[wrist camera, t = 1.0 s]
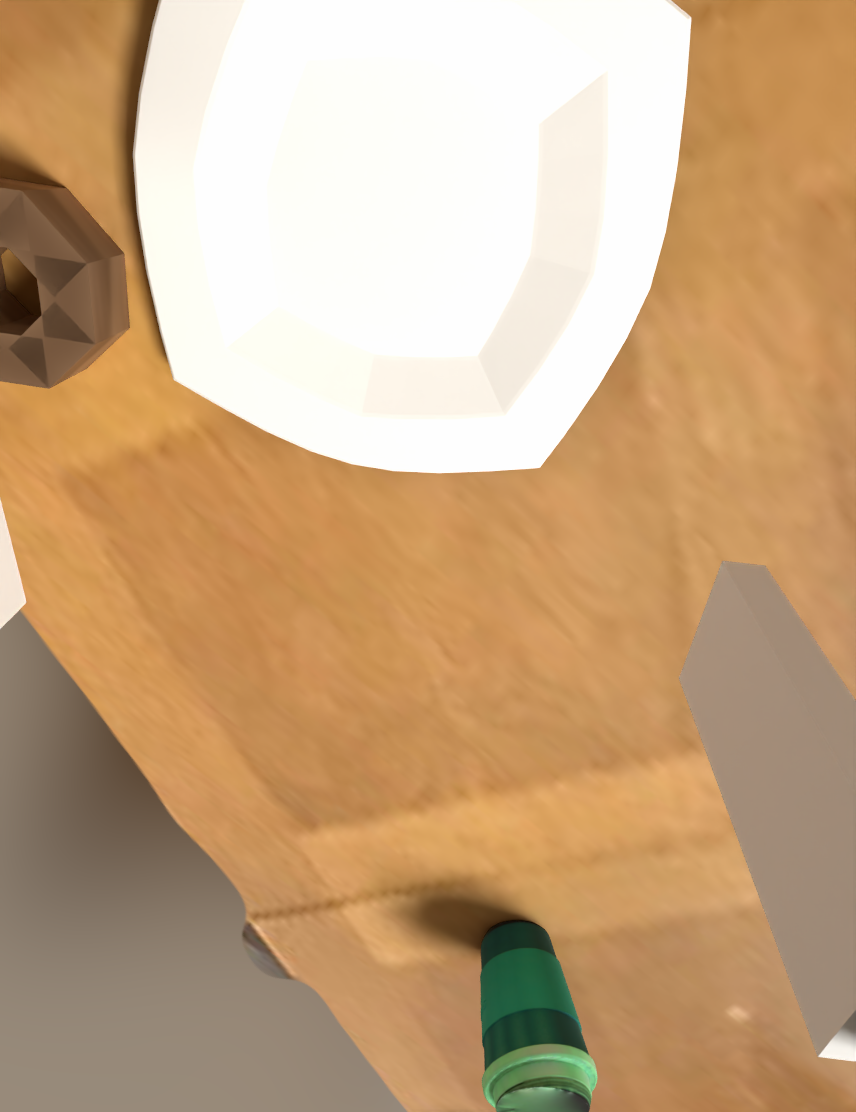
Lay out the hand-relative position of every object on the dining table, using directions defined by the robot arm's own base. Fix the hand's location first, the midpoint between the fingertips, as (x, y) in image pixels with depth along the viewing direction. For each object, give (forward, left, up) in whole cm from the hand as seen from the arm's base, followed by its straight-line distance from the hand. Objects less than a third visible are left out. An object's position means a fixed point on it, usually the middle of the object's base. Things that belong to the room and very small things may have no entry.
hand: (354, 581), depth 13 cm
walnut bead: (+1, -19, -24) cm, 30 cm away
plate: (-4, -2, -24) cm, 25 cm away
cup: (+48, +15, -24) cm, 56 cm away
